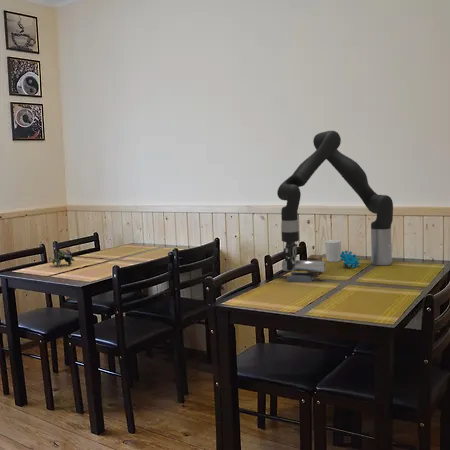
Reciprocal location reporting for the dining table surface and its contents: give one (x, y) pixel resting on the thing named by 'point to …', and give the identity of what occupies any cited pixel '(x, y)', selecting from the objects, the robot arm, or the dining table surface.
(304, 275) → the v block
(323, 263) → the axle
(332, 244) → the white cup
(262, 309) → the dining table surface
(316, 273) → the brown block
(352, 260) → the gear
